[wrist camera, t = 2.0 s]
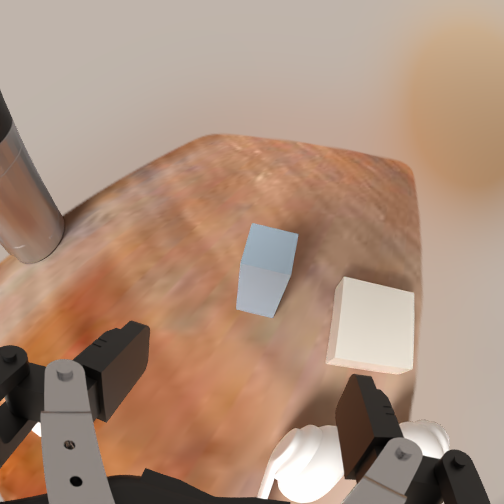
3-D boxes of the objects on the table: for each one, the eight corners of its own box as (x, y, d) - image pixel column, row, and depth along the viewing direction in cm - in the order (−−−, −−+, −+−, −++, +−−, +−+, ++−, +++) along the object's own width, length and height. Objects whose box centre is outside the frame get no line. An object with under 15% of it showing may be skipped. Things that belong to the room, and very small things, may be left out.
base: (325, 363, 30) (334, 357, 27) (335, 288, 34) (344, 276, 32) (398, 374, 29) (412, 369, 27) (401, 303, 34) (413, 292, 31)
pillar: (272, 318, 32) (291, 275, 24) (236, 309, 32) (240, 263, 24) (279, 285, 34) (298, 234, 26) (244, 276, 34) (252, 223, 26)
